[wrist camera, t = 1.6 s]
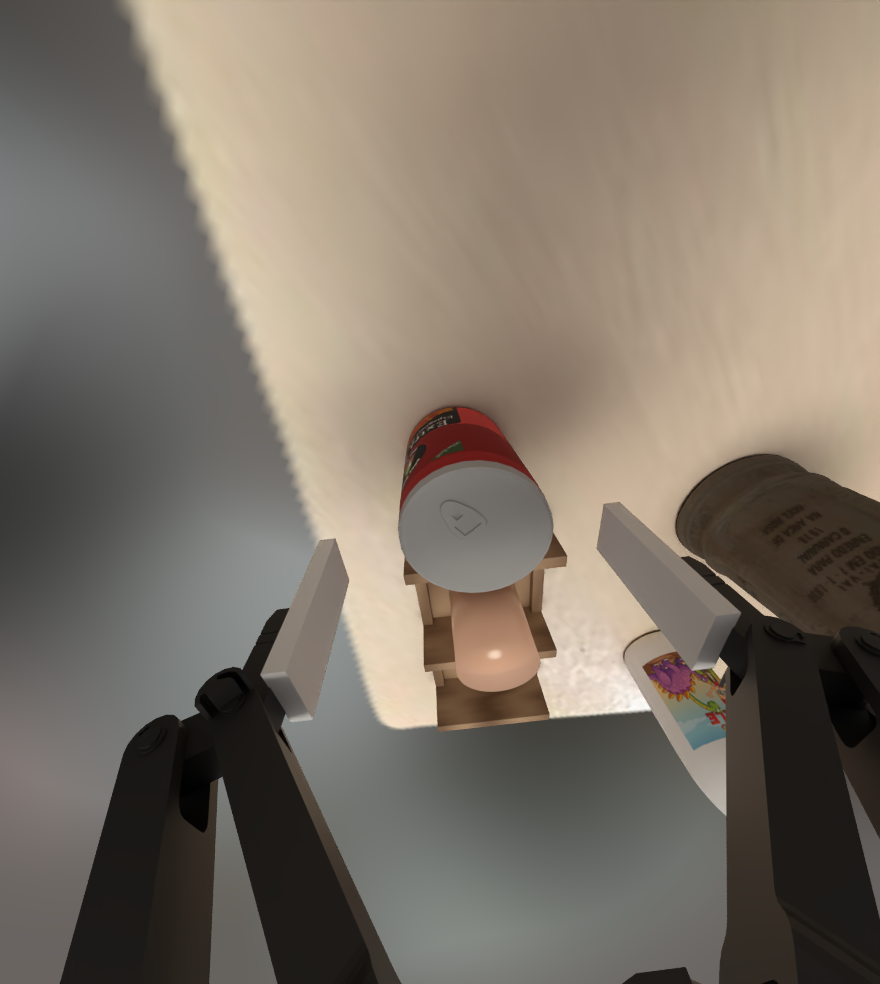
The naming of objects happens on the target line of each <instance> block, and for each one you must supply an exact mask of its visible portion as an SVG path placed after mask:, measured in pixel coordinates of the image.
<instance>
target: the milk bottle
mask: <svg viewBox="0 0 880 984" xmlns="http://www.w3.org/2000/svg"><path fill="white" fill-rule="evenodd" d="M624 660H625V664H626V666H627V668H628V670H629V672H630V674H631V675H632V677H633V679H634V680H635V682H636V684H637V686H638V687H639V689H640V691H641V693H642V694H643V696H644V698H645V699H646V701H647V703H648V705H649V706H650V708H651V710H652V711H653V713H654V715H655V717H656V718H657V720H658V722H659V723H660V725H661V727H662V728H663V730H664V732H665V734H666V735H667V737H668V739H669V740H670V742H671V744H672V746H673V747H674V749H675V750H676V752H677V754H678V755H679V757H680V759H681V760H682V762H683V763H684V765H685V767H686V768H687V770H688V771H689V773H690V775H691V776H692V778H693V779H694V780H695V782H696V783H697V784H698V786H699V787H700V788H701V790H702V791H703V792H704V793H705V795H706V796H707V797H708V798H709V799H710V800H711V801H712V802H713V804H714V805H715V806H716V807H717V808H718V809H719V810H721V811H722V812H723V813H724V814H725V815H726V691H725V684H724V686H723V688H721V687H719V683H720V680H721V679H720V678H719V677H718V676H717V675H716V673H715V672H714V671H713V670H712V668H709V669H701V670H694V671H692V670H691V669H690V668H689V667H688V665H687V664H686V663H685V661H684V660H683V659H682V658H681V656H680V655H679V654H678V652H677V651H676V650H675V649H674V647H673V646H672V645H671V643H670V642H669V641H668V640H667V638H666V637H665V636H664V635H663V633H662V632H661V631H659V632H654V633H651V634H648V635H645V636H643V637H641V638H639V639H638V640H636V641H635V642H633V643H632V644H631V645H630V646H629V647H628V648H627V650H626V652H625V655H624Z"/></svg>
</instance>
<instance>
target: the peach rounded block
mask: <svg viewBox="0 0 880 984" xmlns="http://www.w3.org/2000/svg"><path fill="white" fill-rule="evenodd" d="M449 601H450V611H451V621H452V632H453V642H454V653H455V663H456V673H457V676H458V678H459V680H460V681H461V682H462V683H463V684H464V685H466V686H467V687H469V688H472V689H475V690H479V691H485V692H498V691H505V690H509V689H512V688H515V687H518V686H520V685H522V684H524V683H526V682H527V681H529V680H530V679H531V678H532V677H533V676H534V675H535V674H536V673H537V671H538V669H539V667H540V657H539V654H538V651H537V648H536V645H535V643H534V640H533V637H532V634H531V631H530V628H529V625H528V622H527V619H526V616H525V613H524V610H523V607H522V604H521V602H520V599H519V596H518V593H517V590H516V587H515V584H514V583H513V584H511V585H509V586H506V587H503V588H501V589H497V590H493V591H488V592H478V593H467V592H457V591H453V590H449Z"/></svg>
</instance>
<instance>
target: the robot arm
mask: <svg viewBox="0 0 880 984" xmlns="http://www.w3.org/2000/svg"><path fill="white" fill-rule="evenodd" d="M597 550H598V551H599V552H600V554H601V555H602V556H603V557H604V559H605V560H606V561H607V563H608V564H609V565H610V566H611V568H612V569H613V570H614V572H615V573H616V574H617V575H618V577H619V578H620V579H621V581H622V582H623V583H624V584H625V586H626V587H627V588H628V590H629V591H630V592H631V593H632V595H633V596H634V597H635V599H636V600H637V601H638V602H639V604H640V605H641V606H642V608H643V609H644V610H645V611H646V613H647V614H648V615H649V617H650V618H651V619H652V620H653V622H654V623H655V624H656V626H657V627H658V628H659V629H660V631H661V632H662V633H663V635H664V636H665V637H666V638H667V640H668V641H669V642H670V643H671V645H672V646H673V647H674V649H675V650H676V651H677V652H678V654H679V655H680V656H681V658H682V659H683V660H684V661H685V663H686V664H687V665H688V667H689V668H690V669H691V670H692V671H694V670H701V669H709V668H714V666H715V664H716V662H717V660H718V658H719V657H720V658H721V659H722V660H723V661H724V662H725V663H726V664H727V666H728V667H727V669H726V671H725V673H724V675H723V677H722V679H721V680H720V683H719V687H721V688H723V686H724V684H725V691H726V822H727V824H726V825H727V930H726V936H725V940H724V943H723V947H722V951H721V958H720V970H719V984H880V918H879V914H878V910H877V906H876V902H875V898H874V894H873V890H872V885H871V881H870V877H869V873H868V870H867V865H866V862H865V857H864V853H863V849H862V845H861V841H860V837H859V833H858V829H857V824H856V821H855V816H854V813H853V808H852V804H851V800H850V796H849V792H848V788H847V784H846V780H845V776H844V772H843V769H844V771H845V773H846V775H847V777H848V779H849V781H850V783H851V785H852V787H853V788H854V790H855V792H856V794H857V796H858V798H859V800H860V802H861V804H862V805H863V808H864V810H865V812H866V813H867V815H868V817H869V819H870V821H871V823H872V825H873V827H874V829H875V831H876V833H877V835H878V836H879V838H880V634H878V633H876V632H874V631H871V630H868V629H864V628H860V627H851V626H847V627H844V628H841V629H840V630H839V632H838V633H837V634H836V636H835V637H833V636H826V635H819V634H811V633H804V632H803V631H802V630H800V629H799V628H797V627H796V626H794V625H793V624H791V623H789V622H787V621H784V620H782V619H779V618H775V617H771V616H764V615H763V614H762V613H760V612H759V611H758V610H757V609H756V608H755V607H753V606H752V605H751V604H750V603H749V602H748V601H746V600H745V599H744V598H743V597H742V596H741V595H739V594H738V593H737V592H736V591H735V590H734V589H732V588H731V587H730V586H729V585H728V584H725V582H724V581H723V580H722V579H721V578H720V577H718V576H716V574H715V573H714V572H713V571H711V570H710V569H709V568H708V567H707V566H706V565H704V564H703V563H701V562H699V561H697V560H695V559H693V558H691V557H689V556H687V557H679V556H678V555H677V554H676V553H675V552H674V551H673V550H672V549H671V548H669V547H668V546H667V545H666V544H665V543H664V542H663V541H662V540H661V539H660V538H658V537H657V536H656V535H655V534H654V533H653V532H652V531H651V530H650V529H649V528H647V527H646V526H645V525H644V524H643V523H642V522H641V521H640V520H639V519H638V518H636V517H635V516H634V515H633V514H632V513H631V512H630V511H629V510H628V509H627V508H625V507H624V506H623V505H622V504H621V503H620V502H616V503H608V504H604V506H603V512H602V518H601V525H600V531H599V537H598V543H597ZM348 583H349V578H348V575H347V572H346V569H345V566H344V563H343V560H342V557H341V554H340V551H339V548H338V545H337V542H336V539H327V540H320V541H319V543H318V545H317V547H316V550H315V552H314V554H313V556H312V559H311V561H310V563H309V565H308V568H307V570H306V572H305V575H304V577H303V579H302V582H301V584H300V586H299V589H298V590H297V593H296V595H295V597H294V599H293V602H292V604H291V606H290V608H287V609H279V610H276V611H275V613H274V614H273V615H272V616H271V617H270V618H269V619H268V620H267V622H266V624H265V626H264V628H263V630H262V632H261V635H260V636H259V638H258V640H257V642H256V646H254V648H253V650H252V652H251V654H250V656H249V658H248V660H247V662H246V664H245V666H244V668H243V670H241V668H236V667H232V668H227V669H224V670H222V671H220V672H218V673H216V674H215V675H213V676H212V677H211V678H210V679H208V680H207V681H206V682H205V684H204V685H203V686H202V687H201V688H200V689H199V691H198V694H197V696H196V698H195V707H196V708H197V710H198V711H199V712H200V713H198V714H196V715H194V716H191V717H189V718H187V719H184V720H182V721H180V720H179V719H178V718H177V717H176V716H174V715H164V716H162V717H159V718H156V719H155V720H153V721H152V722H150V723H148V724H147V725H145V726H144V727H143V728H142V729H141V730H140V731H139V732H138V733H137V734H136V735H135V736H134V737H133V738H132V740H131V741H130V742H129V744H128V745H127V747H126V749H125V752H124V754H123V757H122V761H121V764H120V768H119V771H118V775H117V779H116V783H115V786H114V790H113V793H112V797H111V800H110V804H109V808H108V812H107V815H106V819H105V822H104V826H103V829H102V833H101V837H100V840H99V844H98V848H97V851H96V855H95V859H94V862H93V866H92V869H91V873H90V876H89V880H88V884H87V888H86V891H85V895H84V898H83V902H82V906H81V909H80V913H79V916H78V920H77V924H76V927H75V931H74V934H73V938H72V942H71V945H70V949H69V953H68V957H67V960H66V963H65V967H64V971H63V975H62V979H61V981H60V984H209V974H210V952H211V929H212V906H213V883H214V882H213V881H214V860H215V838H216V813H217V792H218V779H219V778H221V777H223V780H224V784H225V787H226V791H227V795H228V798H229V803H230V806H231V810H232V814H233V817H234V821H235V825H236V829H237V833H238V837H239V840H240V844H241V848H242V851H243V855H244V859H245V863H246V867H247V870H248V874H249V878H250V882H251V886H252V889H253V893H254V896H255V901H256V904H257V908H258V912H259V916H260V919H261V923H262V927H263V931H264V935H265V938H266V942H267V946H268V950H269V953H270V956H271V961H272V965H273V968H274V972H275V976H276V980H277V983H278V984H401V982H400V980H399V978H398V976H397V975H396V972H395V971H394V968H393V967H392V964H391V962H390V960H389V958H388V956H387V953H386V951H385V949H384V947H383V945H382V943H381V941H380V938H379V936H378V934H377V932H376V930H375V927H374V925H373V923H372V921H371V919H370V917H369V914H368V912H367V910H366V908H365V906H364V904H363V901H362V899H361V897H360V895H359V893H358V891H357V889H356V886H355V884H354V882H353V880H352V878H351V875H350V874H349V871H348V869H347V867H346V865H345V863H344V860H343V858H342V856H341V854H340V852H339V850H338V847H337V845H336V843H335V841H334V839H333V836H332V834H331V832H330V830H329V828H328V826H327V823H326V821H325V819H324V817H323V815H322V813H321V810H320V809H319V806H318V804H317V802H316V800H315V797H314V795H313V793H312V791H311V789H310V787H309V784H308V782H307V780H306V778H305V776H304V774H303V772H302V769H301V767H300V765H299V763H298V761H297V758H296V756H295V754H294V752H293V750H292V748H291V745H290V743H289V741H288V739H287V737H286V735H285V733H284V730H283V729H282V727H281V725H282V722H283V719H284V716H285V714H286V715H287V717H288V718H289V720H290V721H291V722H297V721H305V720H313V718H314V714H315V710H316V706H317V703H318V699H319V695H320V691H321V687H322V683H323V680H324V675H325V672H326V668H327V664H328V660H329V656H330V652H331V649H332V644H333V641H334V637H335V633H336V629H337V626H338V622H339V618H340V614H341V610H342V607H343V603H344V599H345V595H346V591H347V587H348ZM842 767H843V768H842ZM623 984H700V983H698V982H696V981H694V980H692V979H690V977H689V974H688V972H687V969H686V968H685V967H682V968H674V969H666V970H659V971H651V972H644V973H636V974H635V975H633V976H632V977H631V978H629V979H628V980H626V981H625V982H624V983H623Z"/></svg>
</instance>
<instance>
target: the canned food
mask: <svg viewBox="0 0 880 984" xmlns="http://www.w3.org/2000/svg"><path fill="white" fill-rule="evenodd" d="M398 531H399V539H400V544H401V549H402V551H403V553H404V555H405V558H406V560H407V561H408V562H409V564H410V565H411V566H412V568H413V569H414V570H415V571H416V572H417V573H418V574H420V575H421V576H422V577H423V578H424V579H426V580H428V581H430V582H431V583H433V584H435V585H437V586H440V587H442V588H445V589H448V590H453V591H457V592H467V593H478V592H488V591H493V590H497V589H501V588H503V587H506V586H509V585H511V584H513V583H515V582H517V581H519V580H521V579H522V578H524V577H525V576H526V575H528V574H529V573H530V572H531V571H533V570H534V569H535V568H536V567H537V565H538V564H539V563H540V562H541V561H542V560H543V558H544V556H545V554H546V553H547V551H548V549H549V546H550V543H551V540H552V536H553V519H552V513H551V510H550V508H549V506H548V503H547V501H546V498H545V496H544V494H543V493H542V491H541V490H540V488H539V486H538V484H537V483H536V481H535V480H534V479H533V477H532V476H531V474H530V473H529V471H528V470H527V468H526V467H525V466H524V464H523V463H522V461H521V460H520V458H519V457H518V455H517V454H516V452H515V451H514V450H513V448H512V447H511V445H510V444H509V442H508V441H507V439H506V438H505V437H504V435H503V434H502V432H501V431H500V429H499V428H498V427H497V425H496V424H495V423H494V422H493V421H492V420H491V419H490V418H488V417H487V416H485V415H484V414H482V413H480V412H478V411H475V410H472V409H469V408H462V407H453V408H446V409H442V410H438V411H436V412H434V413H432V414H430V415H428V416H427V417H426V418H424V419H423V420H422V421H421V422H420V423H419V424H418V425H417V426H416V428H415V429H414V430H413V432H412V434H411V436H410V438H409V442H408V446H407V452H406V460H405V468H404V476H403V484H402V492H401V500H400V512H399V527H398Z"/></svg>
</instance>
